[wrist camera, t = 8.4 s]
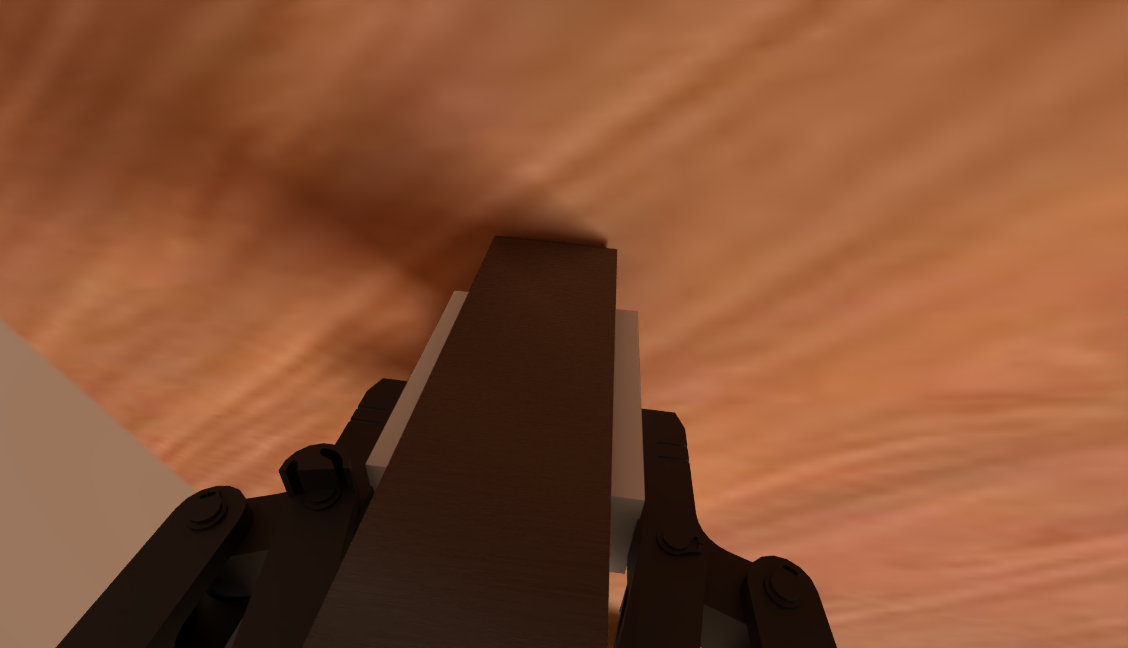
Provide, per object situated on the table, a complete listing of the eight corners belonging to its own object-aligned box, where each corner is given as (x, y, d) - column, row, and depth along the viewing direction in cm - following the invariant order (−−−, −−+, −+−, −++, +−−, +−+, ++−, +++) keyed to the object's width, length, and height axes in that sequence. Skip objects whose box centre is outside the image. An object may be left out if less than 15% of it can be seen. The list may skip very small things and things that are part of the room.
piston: (449, 230, 17) (153, 690, 6) (663, 254, 16) (733, 775, 6) (471, 588, 30) (390, 923, 20) (589, 604, 30) (570, 952, 20)
